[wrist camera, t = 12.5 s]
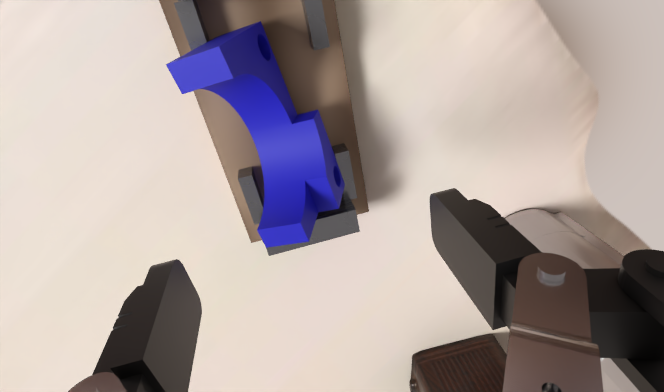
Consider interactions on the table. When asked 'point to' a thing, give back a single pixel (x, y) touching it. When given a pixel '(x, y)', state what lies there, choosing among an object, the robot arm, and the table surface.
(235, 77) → the blue curved cradle
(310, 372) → the table surface
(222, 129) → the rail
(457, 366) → the manual coffee grinder
